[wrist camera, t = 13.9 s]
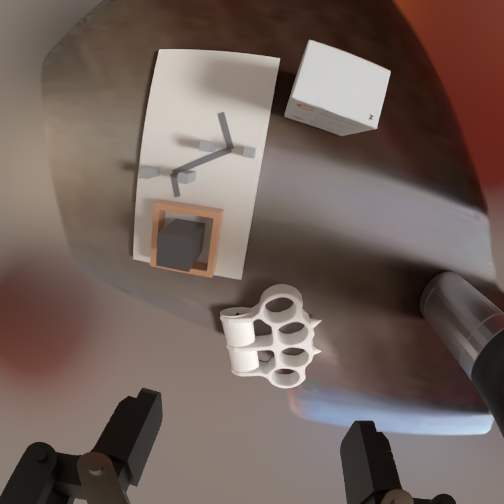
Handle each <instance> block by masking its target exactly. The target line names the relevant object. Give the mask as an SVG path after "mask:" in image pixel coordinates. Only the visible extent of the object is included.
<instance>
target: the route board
mask: <svg viewBox="0 0 504 504" xmlns="http://www.w3.org/2000/svg"><path fill="white" fill-rule="evenodd" d="M279 62H280V58H274V57H268V56H261V55H253V54H245V53H236V52H225V51H211V50H187V49H159V53H158V57H157V61H156V66H155V70H154V75H153V80H152V85H151V90H150V95H149V101H148V106H147V112H146V118H145V125H144V131H143V138H142V146H141V154H140V162H139V172H138V182H137V193H136V206H135V223H134V247H133V259H134V260H139V261H144V262H149V263H150V260H151V239H152V224H153V211H154V203H155V202H157V201H159V200H168V201H174V202H181V203H188V204H194V205H201V206H207V207H213V208H219V209H224V212H223V219H222V226H221V233H220V240H219V248H218V255H217V263H216V270H215V273H214V275H216V276H222V277H227V278H233V279H239V280H241V279H242V274H243V268H244V262H245V256H246V250H247V244H248V238H249V232H250V227H251V221H252V215H253V209H254V203H255V198H256V192H257V186H258V180H259V175H260V169H261V163H262V158H263V152H264V146H265V140H266V135H267V129H268V124H269V118H270V112H271V107H272V101H273V95H274V90H275V84H276V79H277V73H278V68H279ZM175 219H182V220H188V221H194V222H200V223H205V229H204V237H203V245H202V252H201V254H200V255H199V257H198V258H197V260H196V262H201V263H207V264H208V258H209V250H210V242H211V234H212V227H213V218H207V217H201V216H195V215H189V214H183V213H176V212H170V211H165V222H164V228H165V227H166V226H167V225H169V224H170V223H171V222H172V221H174V220H175Z"/></svg>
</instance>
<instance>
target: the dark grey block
mask: <svg viewBox="0 0 504 504" xmlns="http://www.w3.org/2000/svg"><path fill="white" fill-rule="evenodd" d="M204 229H205V223H200V222H194V221H188V220H182V219H175V220H174V221H172V222H171V223H170V224H169V225H167V226H166V227H165V228H163V229H162V230H161V231H160V232H158V242H157V258H156V266H161V267H166V268H171V269H176V270H181V271H186V272H189V271H190V269H191V268H192V266H193V265H194V263H195V262H196V260H197V258H198V257H199V255H200V254H201V252H202V245H203V237H204Z"/></svg>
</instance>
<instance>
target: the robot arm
mask: <svg viewBox="0 0 504 504" xmlns="http://www.w3.org/2000/svg"><path fill="white" fill-rule="evenodd" d="M420 311H421V314H422V315H423V316H424V318H425V319H426V320H427V322H428V323H429V324H430V325H431V327H432V328H433V329H434V331H435V332H436V333H437V335H438V336H439V337H440V338H441V340H442V341H443V342H444V344H445V345H446V346H447V348H448V349H449V350H450V352H451V353H452V354H453V356H454V357H455V359H456V360H457V361H458V363H459V364H460V366H461V367H462V368H463V370H464V371H465V372H466V374H467V375H468V377H469V378H470V380H471V381H472V383H473V384H474V385H475V387H476V388H477V390H478V392H479V393H480V395H481V396H482V398H483V400H484V401H485V403H486V404H487V406H488V408H489V409H490V411H491V413H492V415H493V417H494V419H495V421H496V423H497V424H498V427H499V429H500V431H501V433H502V435H503V437H504V313H503V312H502V311H500V310H499V309H498V308H497V307H496V306H495V305H494V304H493V303H491V302H490V301H489V300H488V299H487V298H486V297H485V296H483V295H482V294H481V293H480V292H479V291H477V290H476V289H475V288H474V287H473V286H471V285H470V284H469V283H468V282H467V281H465V280H464V279H463V278H462V277H460V276H459V275H458V274H456V273H455V272H451V271H448V272H443V273H440V274H438V275H437V276H435V277H434V278H433V279H432V280H431V281H430V282H429V283H428V284H427V286H426V287H425V288H424V290H423V293H422V295H421V298H420ZM161 422H162V401H161V393H160V392H157V391H153V390H149V389H146V388H142V389H141V391H140V392H139V394H138V396H137V398H134V397H131V396H128V397H127V398H125V399H124V400H122V401H121V402H120V403H119V404H118V406H117V408H116V409H115V411H114V414H113V415H112V416H111V418H110V421H109V422H108V423H107V425H106V427H105V429H104V431H103V432H102V434H101V436H100V438H99V440H98V441H97V443H96V445H95V447H94V448H93V449H92V450H91V451H90V452H87V453H85V454H83V455H78V456H77V455H69V454H64V453H58V452H55V450H54V449H53V448H52V447H51V446H50V445H48V444H46V443H43V442H36V443H33V444H31V445H29V446H28V448H27V449H26V451H25V453H24V454H23V456H22V458H21V459H20V461H19V463H18V465H17V466H16V468H15V470H14V472H13V474H12V475H11V477H10V479H9V481H8V483H7V485H6V487H5V489H4V490H3V492H2V495H1V496H0V504H73V501H74V499H75V498H78V499H84V500H87V503H88V504H131V503H130V501H129V499H128V496H127V494H126V491H127V489H128V486H129V484H131V485H134V486H137V485H138V482H139V480H140V477H141V475H142V472H143V469H144V467H145V464H146V462H147V459H148V456H149V454H150V452H151V449H152V446H153V444H154V441H155V439H156V436H157V434H158V431H159V429H160V426H161ZM340 454H341V460H342V468H343V475H344V482H345V490H346V498H347V504H456V502H455V500H454V499H453V497H451V496H450V495H447V494H440V495H437V496H436V497H434V498H433V499H432V500H429V499H419V498H413V497H412V496H411V494H410V493H409V492H407V491H405V490H403V489H402V487H401V484H400V480H399V476H398V472H397V469H396V465H395V462H394V460H393V454H392V452H391V447H390V444H389V441H388V439H387V438H386V437H385V435H384V434H383V433H382V432H377V431H376V427H375V424H374V422H373V421H355V422H354V423H353V424H352V426H351V428H350V429H349V431H348V432H347V434H346V436H345V437H344V439H343V440H342V443H341V448H340Z"/></svg>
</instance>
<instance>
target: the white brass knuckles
mask: <svg viewBox="0 0 504 504" xmlns="http://www.w3.org/2000/svg"><path fill="white" fill-rule="evenodd" d="M280 297H285V298H289V299H290V300H292V301H293V302H294V303H293V305H292V306H291V307H290V308H289V309H287V310H284V311H281V312H271V311H269V310H268V309H267V308H266V307H265V305H266V303H268V302H269V301H271V300H274V299H276V298H280ZM302 306H303V301H302V296H301V293H300V292H299V291H298V290H297V289H296V288H294V287H293V286H290V285H287V284H277V285H273V286H271V287H269V288H268V289H266V290H265V291H264V292H263V294H262V295H261V298H260V302H259V303H258V304H257V305H255V306H254V307H251V308H246V307H234V308H228V309H224V310H222V311H221V312H220V319H221V321H222V325H223V330H224V335H225V339H226V347H227V349H228V354H229V358H230V363H231V368H232V369H231V370H232V373H233V374H235V375H238V376H263V377H265V378H267V379H268V380H269V381H270V383H271V384H273V385H274V386H276V387H280V388H292V387H295V386H297V385H299V384H301V383H302V382H303V381H304V380H305V378H306V376H305V368H306V366H307V365H308V364H309V363H310V362H311V361H312V358H313V355H315V354H317V353H319V352H322V351H320V350H319V349H317V348H315V347H314V346H313V341H312V338H313V336H314V330H313V328H314V327H315V326H316V325H317V324H319V323H320V322H321V321H322V320H316V319H310V317H309V314H307V313H306V312H305V311H304V310H303V309H302ZM237 312H238V313H239V315H238V316H236V313H237ZM256 319H261V320H262V321H263V322H265V323H266V324H268V325H270V326H271V329H272V333H271V334H270V335H262V336H255V333H254V326H253V321H255V320H256ZM291 322H300V323H302V324H304V325H305V326H304V327H303V328H302V329H301V330H300V331H298V332H295V333H292V334H284V333H282V332H280V331H279V330H278V329H279V328H280V327H281V326H283V325H285V324H288V323H291ZM290 347H294V348H301V349H304V350H305V351H304V352H303V353H301V354H299V355H295V356H293V355H286V354H283V353H282V352H281V351H282V350H284V349H286V348H290ZM262 350H271V351H273V352H274V357H272V358H270V359H269V360H268V361H262V360H258V354H257V351H262ZM282 368H285V369H292V370H295V372H293V373H291V374H281V373H280V372H276V370H278V369H282Z"/></svg>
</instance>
